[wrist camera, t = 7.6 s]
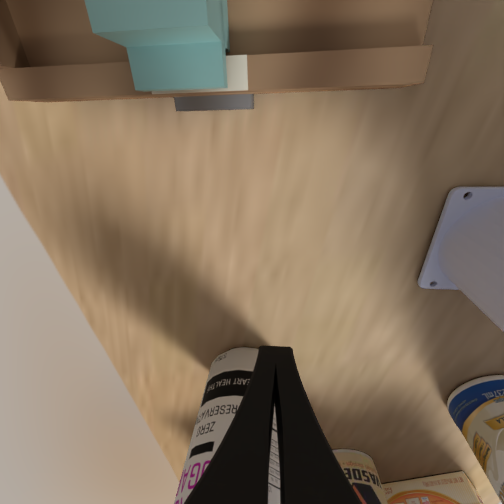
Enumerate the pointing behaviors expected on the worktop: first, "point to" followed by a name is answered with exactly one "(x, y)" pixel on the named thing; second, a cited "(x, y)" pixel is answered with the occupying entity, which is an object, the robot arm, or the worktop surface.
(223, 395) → the supplement can
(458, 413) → the beverage bottle
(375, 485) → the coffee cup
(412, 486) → the coffeecake box
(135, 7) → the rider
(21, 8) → the brown wooden tray
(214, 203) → the worktop surface
